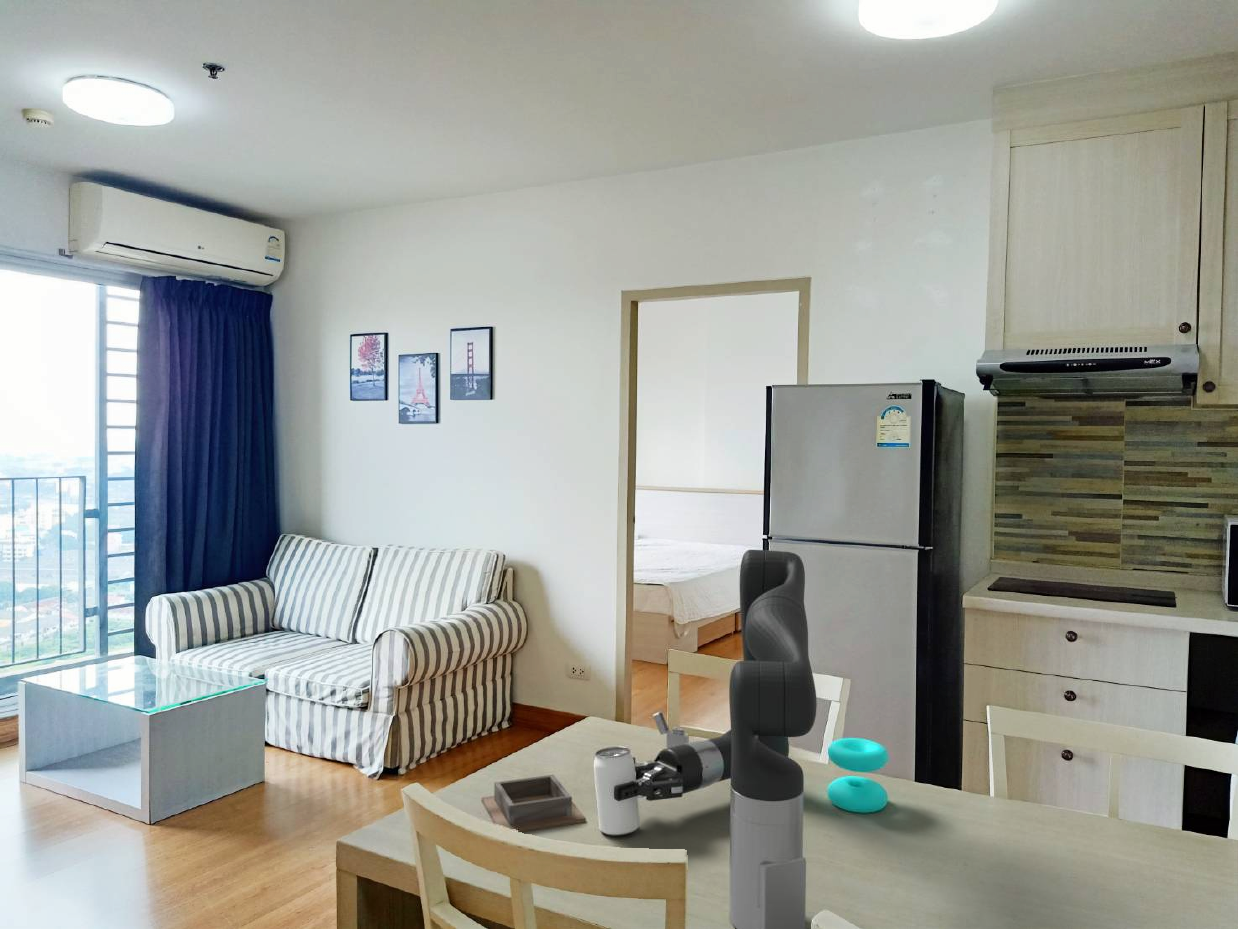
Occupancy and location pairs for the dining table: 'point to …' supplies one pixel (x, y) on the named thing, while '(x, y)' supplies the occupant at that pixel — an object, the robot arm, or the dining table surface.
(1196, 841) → the dining table surface
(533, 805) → the can stand
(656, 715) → the lighter
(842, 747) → the donuts
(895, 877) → the dining table surface
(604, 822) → the can
